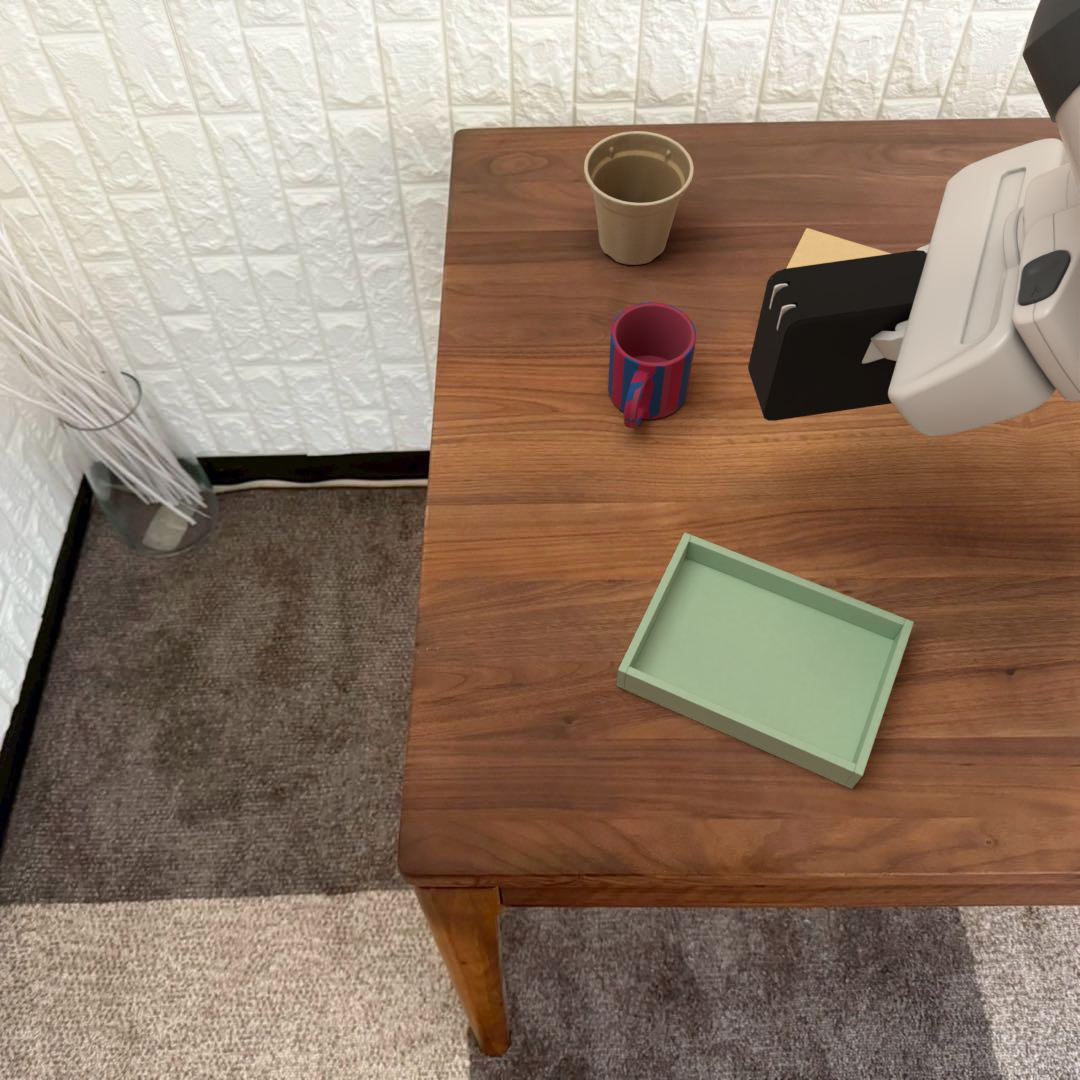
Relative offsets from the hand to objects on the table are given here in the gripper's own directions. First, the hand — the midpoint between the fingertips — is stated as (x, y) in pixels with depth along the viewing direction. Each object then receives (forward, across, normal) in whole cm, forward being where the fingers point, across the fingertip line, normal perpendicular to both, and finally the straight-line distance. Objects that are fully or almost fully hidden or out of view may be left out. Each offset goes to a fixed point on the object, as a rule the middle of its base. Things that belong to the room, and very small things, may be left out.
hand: (863, 322), depth 64 cm
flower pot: (+28, -21, -2) cm, 35 cm away
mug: (+24, -3, +3) cm, 24 cm away
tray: (+12, +16, +14) cm, 24 cm away
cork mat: (+13, -21, +13) cm, 28 cm away
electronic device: (+5, +1, +3) cm, 6 cm away
